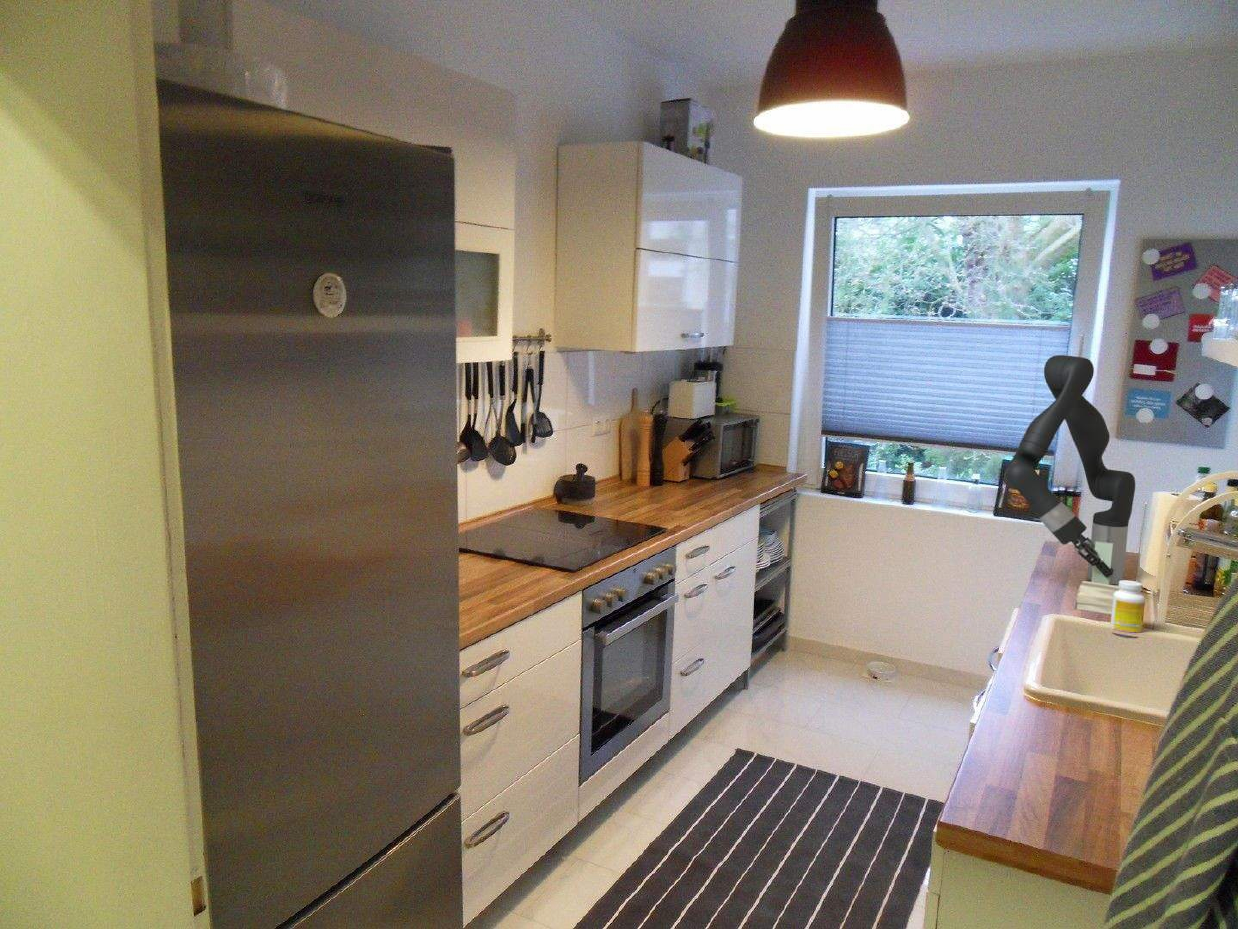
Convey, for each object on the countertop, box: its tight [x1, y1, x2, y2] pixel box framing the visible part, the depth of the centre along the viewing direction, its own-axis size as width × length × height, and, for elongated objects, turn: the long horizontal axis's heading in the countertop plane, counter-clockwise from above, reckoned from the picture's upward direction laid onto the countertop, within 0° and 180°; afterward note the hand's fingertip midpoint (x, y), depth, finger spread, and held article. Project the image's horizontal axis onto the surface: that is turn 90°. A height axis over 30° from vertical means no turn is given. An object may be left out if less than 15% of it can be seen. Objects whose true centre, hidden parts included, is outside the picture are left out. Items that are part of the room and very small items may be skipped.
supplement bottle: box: [1109, 579, 1146, 639], centre depth 207 cm, size 7×7×13 cm
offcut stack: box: [1076, 580, 1120, 615], centre depth 224 cm, size 7×10×6 cm
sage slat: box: [1091, 542, 1113, 585], centre depth 229 cm, size 2×4×16 cm, turn 58°
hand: (1110, 574), depth 228 cm, fingers closed on sage slat, 2 cm apart
